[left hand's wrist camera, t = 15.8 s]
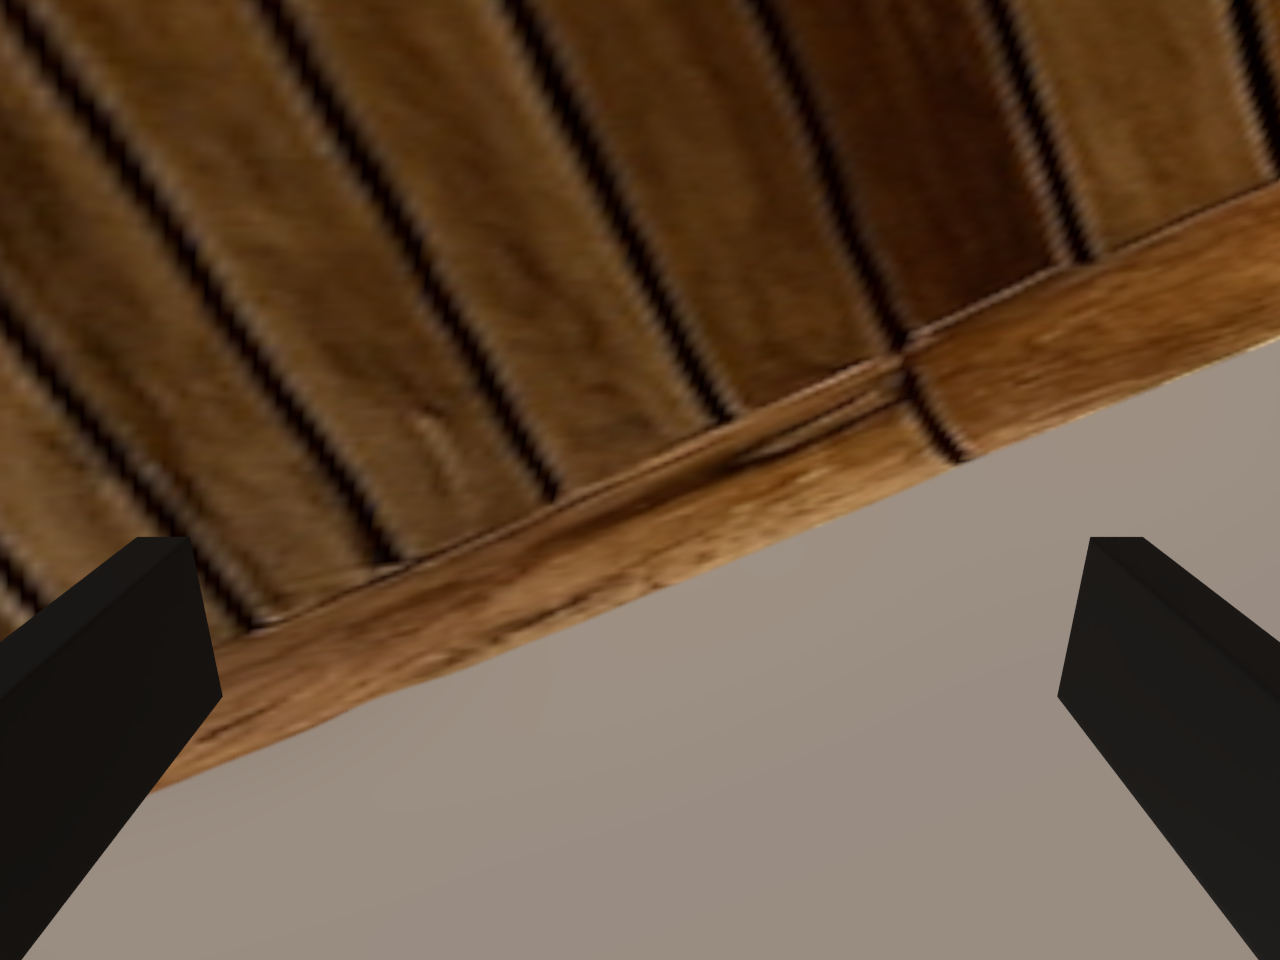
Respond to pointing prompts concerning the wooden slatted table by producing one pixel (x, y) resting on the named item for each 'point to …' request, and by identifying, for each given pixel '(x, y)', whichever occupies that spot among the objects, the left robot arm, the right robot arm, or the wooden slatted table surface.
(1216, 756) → the left robot arm
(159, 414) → the wooden slatted table surface
